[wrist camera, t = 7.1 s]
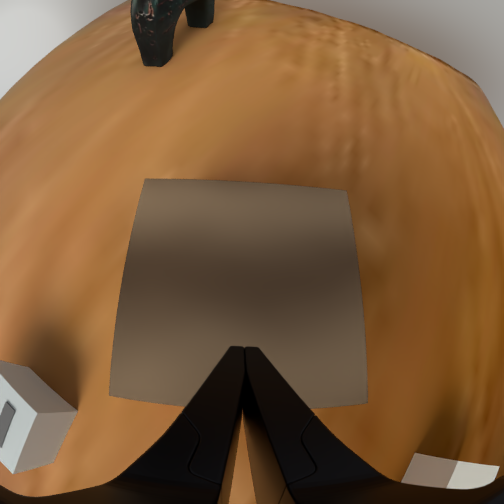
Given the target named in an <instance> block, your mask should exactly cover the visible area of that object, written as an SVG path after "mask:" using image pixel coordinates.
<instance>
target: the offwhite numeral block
mask: <svg viewBox="0 0 504 504" xmlns="http://www.w3.org/2000/svg"><path fill="white" fill-rule="evenodd" d="M499 467H500V466H491V465H483V464H475V463H468V462H462V461H456V460H450V459H444V458H439V457H433V456H428V455H423V454H419V453H414V456H413V458H412V460H411V462H410V465H409V467H408V469H407V471H406V473H405V475H404V477H403V479H402V481H401V483H407V484H414V485H421V486H429V487H439V488H451V489H473V488H478V487H482V486H485V485H487V484H489V483H491V482H493V481H494V480H495V477H496V475H497V472H498V470H499Z"/></svg>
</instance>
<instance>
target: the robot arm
mask: <svg viewBox="0 0 504 504" xmlns="http://www.w3.org/2000/svg"><path fill="white" fill-rule="evenodd" d="M242 410H243V422H244V429H245V435H246V442H247V448H248V455H249V461H250V467H251V473H252V479H253V485H254V491H255V497H256V503H257V504H504V476H501V477H499V478H498V479H496V480H494V481H493V482H491V483H489V484H487V485H485V486H482V487H478V488H473V489H451V488H439V487H429V486H421V485H414V484H407V483H401V482H397V481H394V480H392V479H389V478H387V477H386V476H384V475H382V474H381V473H379V472H378V471H377V470H375V469H374V468H373V467H371V466H370V465H369V464H368V463H366V462H365V461H364V460H363V459H361V458H360V457H359V456H358V455H357V454H355V453H354V452H353V451H352V450H350V449H349V448H348V447H347V446H346V445H345V444H343V443H342V442H341V441H340V440H339V439H338V438H337V437H336V436H335V435H334V434H333V433H332V432H331V431H330V430H329V429H328V428H327V427H326V426H325V425H324V424H323V423H322V422H321V421H320V419H319V418H318V417H317V416H315V414H314V413H313V412H312V410H311V409H310V408H309V407H308V406H307V405H306V403H305V402H304V401H303V400H302V399H301V398H300V397H299V395H298V394H297V393H296V392H295V391H294V389H293V388H292V387H291V386H290V385H289V384H288V382H287V381H286V380H285V379H284V378H283V376H282V375H281V374H280V373H279V372H278V370H277V369H276V368H275V367H274V365H273V364H272V363H271V362H270V361H269V359H268V358H267V357H266V356H265V354H264V353H263V352H262V351H261V349H260V348H259V347H253V346H246V347H245V348H244V347H243V346H230V347H229V348H228V349H227V351H226V352H225V354H224V355H223V356H222V358H221V359H220V361H219V362H218V363H217V365H216V366H215V367H214V369H213V370H212V372H211V373H210V374H209V376H208V377H207V378H206V380H205V381H204V382H203V384H202V385H201V387H200V388H199V389H198V391H197V392H196V393H195V395H194V396H193V397H192V399H191V400H190V401H189V403H188V404H187V405H186V407H185V408H184V409H183V411H182V412H181V413H180V414H179V416H178V417H177V418H176V420H175V421H174V422H173V423H172V425H171V426H170V427H169V428H168V429H167V431H166V432H165V433H164V434H163V435H162V436H161V437H160V438H159V439H158V440H157V441H156V442H155V443H154V444H153V445H152V446H151V447H150V448H149V449H148V450H147V451H146V452H145V453H144V454H142V455H141V456H140V457H139V458H138V459H137V460H136V461H135V462H134V463H132V464H131V465H130V466H129V467H128V468H127V469H126V470H125V471H123V472H122V473H121V474H120V475H119V476H117V477H116V478H114V479H113V480H111V481H109V482H107V483H105V484H102V485H99V486H95V487H91V488H86V489H82V490H77V491H72V492H67V493H62V494H56V495H50V496H43V497H29V496H23V495H19V494H16V493H14V492H12V491H10V490H8V489H6V488H5V487H3V486H1V485H0V504H229V498H230V491H231V485H232V479H233V472H234V466H235V460H236V453H237V447H238V440H239V433H240V427H241V420H242Z"/></svg>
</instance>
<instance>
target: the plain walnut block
mask: <svg viewBox="0 0 504 504" xmlns="http://www.w3.org/2000/svg"><path fill="white" fill-rule="evenodd" d="M230 346H243V347H244V348H245V347H246V346H253V347H259V348H260V349H261V351H262V352H263V353H264V354H265V356H266V357H267V358H268V359H269V361H270V362H271V363H272V364H273V365H274V367H275V368H276V369H277V370H278V372H279V373H280V374H281V375H282V376H283V378H284V379H285V380H286V381H287V382H288V384H289V385H290V386H291V387H292V388H293V389H294V391H295V392H296V393H297V394H298V395H299V397H300V398H301V399H302V400H303V401H304V402H305V403H306V405H307V406H308V407H309V408H310V409H313V408H327V407H339V406H348V405H357V404H365V403H368V386H367V357H366V339H365V325H364V313H363V302H362V292H361V282H360V274H359V266H358V258H357V251H356V244H355V237H354V230H353V224H352V218H351V212H350V206H349V201H348V195H347V191H345V190H336V189H327V188H317V187H307V186H296V185H284V184H271V183H257V182H240V181H221V180H194V179H145V181H144V184H143V188H142V192H141V195H140V199H139V203H138V207H137V211H136V215H135V220H134V224H133V228H132V233H131V237H130V242H129V247H128V251H127V256H126V262H125V267H124V272H123V278H122V284H121V290H120V296H119V302H118V309H117V316H116V324H115V332H114V340H113V350H112V360H111V372H110V386H109V396H114V397H120V398H125V399H131V400H137V401H144V402H151V403H158V404H166V405H175V406H185V407H186V405H187V404H188V403H189V401H190V400H191V399H192V397H193V396H194V395H195V393H196V392H197V391H198V389H199V388H200V387H201V385H202V384H203V382H204V381H205V380H206V378H207V377H208V376H209V374H210V373H211V372H212V370H213V369H214V367H215V366H216V365H217V363H218V362H219V361H220V359H221V358H222V356H223V355H224V354H225V352H226V351H227V349H228V348H229V347H230Z"/></svg>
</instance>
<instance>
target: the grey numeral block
mask: <svg viewBox="0 0 504 504" xmlns="http://www.w3.org/2000/svg"><path fill="white" fill-rule="evenodd" d="M77 412H78V411H77V410H76V409H75V408H73V407H72V406H71V405H70V404H69V403H67V402H66V401H65V400H64V399H63V398H62V397H60V396H59V395H58V394H57V393H56V392H55V391H54V390H52V389H51V388H50V387H49V386H48V385H47V384H46V383H45V382H44V381H43V380H42V379H41V378H40V377H38V376H37V375H36V374H35V373H34V372H33V371H32V370H31V369H30V368H29V367H26V366H21V365H17V364H13V363H9V362H5V361H1V360H0V461H1V462H2V463H3V464H4V465H5V466H6V467H7V468H8V469H9V471H10V472H11V473H12V474H16V473H20V472H23V471H27V470H31V469H34V468H38V467H41V466H44V465H48V464H51V463H54V460H55V458H56V456H57V454H58V451H59V449H60V447H61V445H62V443H63V441H64V439H65V437H66V434H67V432H68V430H69V428H70V426H71V424H72V422H73V420H74V418H75V416H76V414H77Z"/></svg>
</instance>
